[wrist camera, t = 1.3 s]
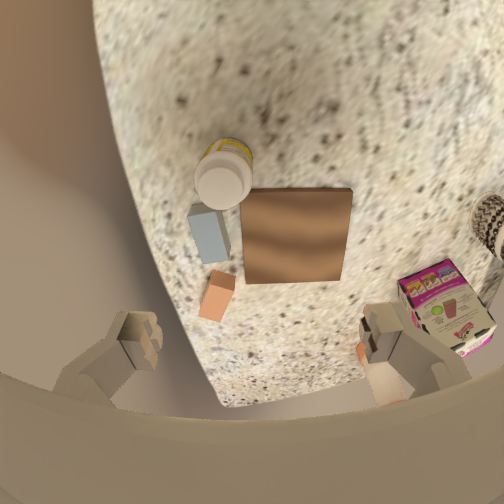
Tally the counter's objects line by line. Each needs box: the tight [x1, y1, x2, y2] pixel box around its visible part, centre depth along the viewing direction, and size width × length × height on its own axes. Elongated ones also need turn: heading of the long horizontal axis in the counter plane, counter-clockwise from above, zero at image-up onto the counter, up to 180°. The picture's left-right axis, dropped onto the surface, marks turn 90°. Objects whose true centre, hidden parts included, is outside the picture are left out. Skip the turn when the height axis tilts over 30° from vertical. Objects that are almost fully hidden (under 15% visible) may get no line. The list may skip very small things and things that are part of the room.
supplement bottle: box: [194, 138, 253, 210], centre depth 28 cm, size 6×6×10 cm
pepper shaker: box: [357, 342, 406, 407], centre depth 44 cm, size 7×7×19 cm
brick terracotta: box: [198, 270, 236, 322], centre depth 42 cm, size 7×4×4 cm, turn 159°
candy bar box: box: [398, 259, 497, 358], centre depth 35 cm, size 11×5×16 cm, turn 115°
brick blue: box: [187, 203, 231, 264], centre depth 36 cm, size 7×4×4 cm, turn 10°
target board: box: [240, 188, 353, 284], centre depth 37 cm, size 14×14×1 cm
